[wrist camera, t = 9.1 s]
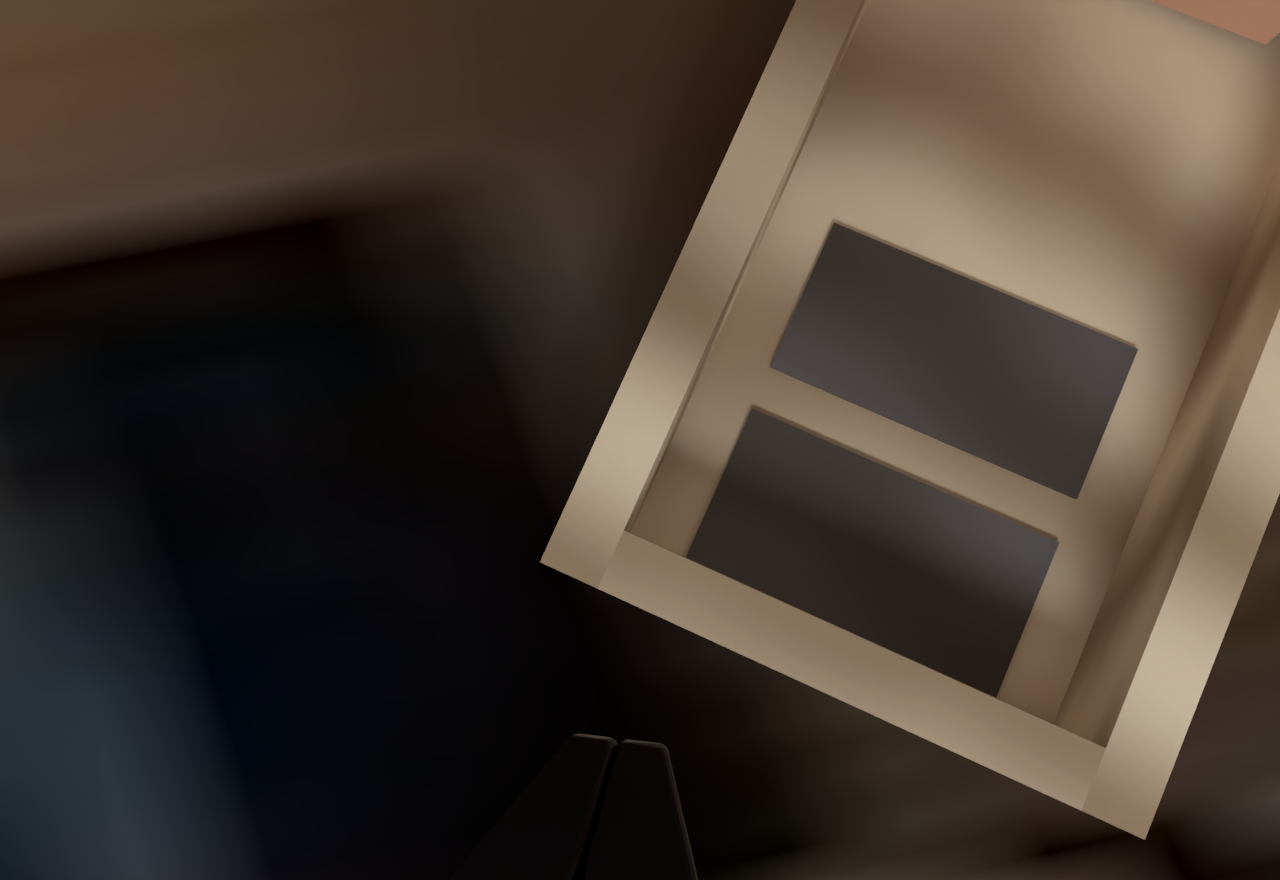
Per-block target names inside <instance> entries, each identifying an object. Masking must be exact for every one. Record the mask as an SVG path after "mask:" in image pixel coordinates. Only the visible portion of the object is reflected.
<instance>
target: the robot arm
mask: <svg viewBox="0 0 1280 880" xmlns="http://www.w3.org/2000/svg"><path fill="white" fill-rule="evenodd" d="M446 880H698V877H697V872H696V868H695V864H694V859H693V855H692V851H691V846H690V842H689V838H688V833H687V829H686V825H685V820H684V816H683V812H682V807H681V803H680V799H679V794H678V790H677V786H676V781H675V777H674V772H673V768H672V764H671V759H670V755H669V752H668V749H667V748H666V746H665V745H663V744H661V743H655V742H647V741H638V740H629V739H628V740H623V741H621V743H620V744H619V745H618V743H617V741H616V740H614V739H613V738H610V737H604V736H595V735H587V734H573V735H571V736H569V737H568V738H567V739H566V740H565V741H564V742H563V743H562V744H561V745H560V746H559V747H558V749H557V750H556V751H555V752H554V753H553V754H552V756H551V757H550V758H549V759H548V760H547V761H546V763H545V764H544V765H543V766H542V767H541V769H540V770H539V771H538V772H537V773H536V774H535V776H534V777H533V778H532V779H531V780H530V781H529V783H528V784H527V785H526V786H525V787H524V788H523V790H522V791H521V792H520V793H519V794H518V796H517V797H516V798H515V799H514V800H513V801H512V803H511V804H510V805H509V806H508V807H507V808H506V810H505V811H504V812H503V813H502V814H501V815H500V817H499V818H498V819H497V820H496V821H495V822H494V824H493V825H492V826H491V827H490V828H489V830H488V831H487V832H486V833H485V834H484V835H483V837H482V838H481V839H480V840H479V841H478V842H477V844H476V845H475V846H474V847H473V848H472V849H471V851H470V852H469V853H468V854H467V855H466V857H465V858H464V859H463V860H462V861H461V862H460V864H459V865H458V866H457V867H456V868H455V869H454V871H453V872H452V873H451V874H450V875H449V876H448V878H447V879H446Z"/></svg>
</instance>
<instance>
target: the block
mask: <svg viewBox="0 0 1280 880" xmlns="http://www.w3.org/2000/svg"><path fill="white" fill-rule="evenodd" d="M1151 1H1153V2H1156V3H1158V4H1161V5H1164V6H1166V7H1169V8H1171V9H1174V10H1177V11H1179V12H1182V13H1184V14H1187V15H1190V16H1192V17H1195V18H1197V19H1200V20H1202V21H1205V22H1208V23H1210V24H1213V25H1215V26H1218V27H1221V28H1223V29H1226V30H1228V31H1231V32H1234V33H1236V34H1239V35H1241V36H1244V37H1247V38H1249V39H1252V40H1254V41H1257V42H1260V43H1262V44H1265V45H1266V44H1267V43H1268V42H1269V41H1271V40H1272V39H1273V38H1274V37H1275V36H1276V35H1277V34H1279V33H1280V0H1151Z"/></svg>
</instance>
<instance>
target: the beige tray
mask: <svg viewBox="0 0 1280 880" xmlns="http://www.w3.org/2000/svg"><path fill="white" fill-rule="evenodd" d="M1279 493H1280V33H1279V34H1277V35H1276V36H1275V37H1274V38H1273V39H1272V40H1271V41H1269V42H1268V43H1267V44H1266V45H1265V44H1262V43H1260V42H1257V41H1254V40H1252V39H1249V38H1247V37H1244V36H1241V35H1239V34H1236V33H1234V32H1231V31H1228V30H1226V29H1223V28H1221V27H1218V26H1215V25H1213V24H1210V23H1208V22H1205V21H1202V20H1200V19H1197V18H1195V17H1192V16H1190V15H1187V14H1184V13H1182V12H1179V11H1177V10H1174V9H1171V8H1169V7H1166V6H1164V5H1161V4H1158V3H1156V2H1153V1H1151V0H796V2H795V4H794V6H793V8H792V11H791V13H790V15H789V17H788V19H787V22H786V24H785V26H784V28H783V30H782V33H781V35H780V37H779V39H778V41H777V44H776V46H775V48H774V50H773V52H772V54H771V57H770V59H769V61H768V63H767V65H766V68H765V70H764V72H763V74H762V76H761V79H760V81H759V83H758V85H757V87H756V90H755V92H754V94H753V96H752V98H751V101H750V103H749V105H748V107H747V109H746V111H745V114H744V116H743V118H742V120H741V122H740V125H739V127H738V129H737V131H736V133H735V136H734V138H733V140H732V142H731V144H730V147H729V149H728V151H727V153H726V155H725V158H724V160H723V162H722V164H721V166H720V168H719V171H718V173H717V175H716V177H715V179H714V182H713V184H712V186H711V188H710V190H709V193H708V195H707V197H706V199H705V201H704V204H703V206H702V208H701V210H700V212H699V215H698V217H697V219H696V221H695V223H694V225H693V228H692V230H691V232H690V234H689V236H688V239H687V241H686V243H685V245H684V247H683V250H682V252H681V254H680V256H679V258H678V261H677V263H676V265H675V267H674V269H673V272H672V274H671V276H670V278H669V280H668V282H667V285H666V287H665V289H664V291H663V293H662V296H661V298H660V300H659V302H658V304H657V307H656V309H655V311H654V313H653V315H652V318H651V320H650V322H649V324H648V326H647V328H646V331H645V333H644V335H643V337H642V339H641V342H640V344H639V346H638V348H637V350H636V353H635V355H634V357H633V359H632V361H631V364H630V366H629V368H628V370H627V372H626V375H625V377H624V379H623V381H622V383H621V385H620V388H619V390H618V392H617V394H616V396H615V399H614V401H613V403H612V405H611V407H610V410H609V412H608V414H607V416H606V418H605V421H604V423H603V425H602V427H601V429H600V432H599V434H598V436H597V438H596V440H595V442H594V445H593V447H592V449H591V451H590V453H589V456H588V458H587V460H586V462H585V464H584V467H583V469H582V471H581V473H580V475H579V478H578V480H577V482H576V484H575V486H574V489H573V491H572V493H571V495H570V497H569V499H568V502H567V504H566V506H565V508H564V510H563V513H562V515H561V517H560V519H559V521H558V524H557V526H556V528H555V530H554V532H553V535H552V537H551V539H550V541H549V543H548V545H547V548H546V550H545V552H544V554H543V556H542V559H541V561H540V562H541V563H543V564H545V565H547V566H549V567H552V568H554V569H556V570H558V571H560V572H563V573H565V574H567V575H569V576H571V577H573V578H576V579H578V580H580V581H582V582H584V583H586V584H589V585H591V586H593V587H595V588H597V589H600V590H602V591H604V592H606V593H608V594H610V595H613V596H615V597H617V598H619V599H621V600H624V601H626V602H628V603H630V604H632V605H634V606H637V607H639V608H641V609H643V610H645V611H647V612H650V613H652V614H654V615H656V616H658V617H661V618H663V619H665V620H667V621H669V622H671V623H674V624H676V625H678V626H680V627H682V628H685V629H687V630H689V631H691V632H693V633H695V634H698V635H700V636H702V637H704V638H706V639H708V640H711V641H713V642H715V643H717V644H719V645H722V646H724V647H726V648H728V649H730V650H732V651H735V652H737V653H739V654H741V655H743V656H746V657H748V658H750V659H752V660H754V661H756V662H759V663H761V664H763V665H765V666H767V667H769V668H772V669H774V670H776V671H778V672H780V673H783V674H785V675H787V676H789V677H791V678H793V679H796V680H798V681H800V682H802V683H804V684H807V685H809V686H811V687H813V688H815V689H817V690H820V691H822V692H824V693H826V694H828V695H830V696H833V697H835V698H837V699H839V700H841V701H844V702H846V703H848V704H850V705H852V706H854V707H857V708H859V709H861V710H863V711H865V712H868V713H870V714H872V715H874V716H876V717H878V718H881V719H883V720H885V721H887V722H889V723H891V724H894V725H896V726H898V727H900V728H902V729H905V730H907V731H909V732H911V733H913V734H915V735H918V736H920V737H922V738H924V739H926V740H929V741H931V742H933V743H935V744H937V745H939V746H942V747H944V748H946V749H948V750H950V751H952V752H955V753H957V754H959V755H961V756H963V757H966V758H968V759H970V760H972V761H974V762H976V763H979V764H981V765H983V766H985V767H987V768H990V769H992V770H994V771H996V772H998V773H1000V774H1003V775H1005V776H1007V777H1009V778H1011V779H1013V780H1016V781H1018V782H1020V783H1022V784H1024V785H1027V786H1029V787H1031V788H1033V789H1035V790H1037V791H1040V792H1042V793H1044V794H1046V795H1048V796H1051V797H1053V798H1055V799H1057V800H1059V801H1061V802H1064V803H1066V804H1068V805H1070V806H1072V807H1074V808H1077V809H1079V810H1081V811H1083V812H1085V813H1088V814H1090V815H1092V816H1094V817H1096V818H1098V819H1101V820H1103V821H1105V822H1107V823H1109V824H1112V825H1114V826H1116V827H1118V828H1120V829H1122V830H1125V831H1127V832H1129V833H1131V834H1133V835H1135V836H1138V837H1140V838H1142V839H1144V840H1145V838H1146V836H1147V833H1148V830H1149V828H1150V825H1151V823H1152V820H1153V818H1154V815H1155V812H1156V810H1157V807H1158V805H1159V802H1160V800H1161V797H1162V794H1163V792H1164V789H1165V787H1166V784H1167V782H1168V779H1169V776H1170V774H1171V771H1172V769H1173V766H1174V764H1175V761H1176V758H1177V756H1178V753H1179V751H1180V748H1181V745H1182V743H1183V740H1184V738H1185V735H1186V733H1187V730H1188V727H1189V725H1190V722H1191V720H1192V717H1193V715H1194V712H1195V709H1196V707H1197V704H1198V702H1199V699H1200V697H1201V694H1202V691H1203V689H1204V686H1205V684H1206V681H1207V679H1208V676H1209V673H1210V671H1211V668H1212V666H1213V663H1214V661H1215V658H1216V655H1217V653H1218V650H1219V648H1220V645H1221V643H1222V640H1223V637H1224V635H1225V632H1226V630H1227V627H1228V625H1229V622H1230V619H1231V617H1232V614H1233V612H1234V609H1235V607H1236V604H1237V601H1238V599H1239V596H1240V594H1241V591H1242V589H1243V586H1244V583H1245V581H1246V578H1247V576H1248V573H1249V571H1250V568H1251V565H1252V563H1253V560H1254V558H1255V555H1256V553H1257V550H1258V547H1259V545H1260V542H1261V540H1262V537H1263V534H1264V532H1265V529H1266V527H1267V524H1268V522H1269V519H1270V516H1271V514H1272V511H1273V509H1274V506H1275V504H1276V501H1277V498H1278V496H1279Z"/></svg>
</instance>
